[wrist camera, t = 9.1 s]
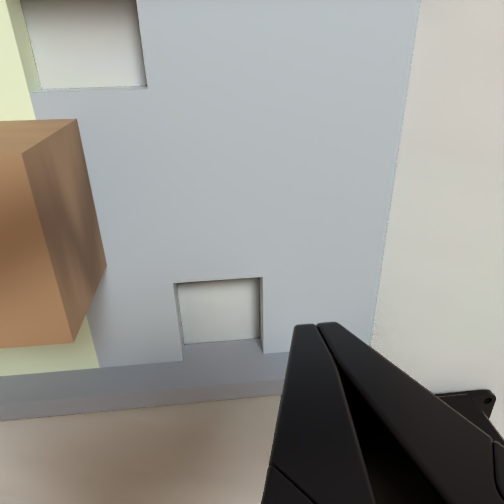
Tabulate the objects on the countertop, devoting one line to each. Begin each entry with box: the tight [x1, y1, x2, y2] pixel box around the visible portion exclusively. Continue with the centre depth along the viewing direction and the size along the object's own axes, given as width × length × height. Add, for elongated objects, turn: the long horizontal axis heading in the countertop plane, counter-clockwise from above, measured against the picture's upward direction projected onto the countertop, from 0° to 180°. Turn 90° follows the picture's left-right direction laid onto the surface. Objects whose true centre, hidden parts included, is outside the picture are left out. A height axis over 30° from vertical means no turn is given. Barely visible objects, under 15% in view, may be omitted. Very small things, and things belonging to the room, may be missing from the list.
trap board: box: [0, 0, 421, 421], centre depth 16 cm, size 22×19×3 cm
